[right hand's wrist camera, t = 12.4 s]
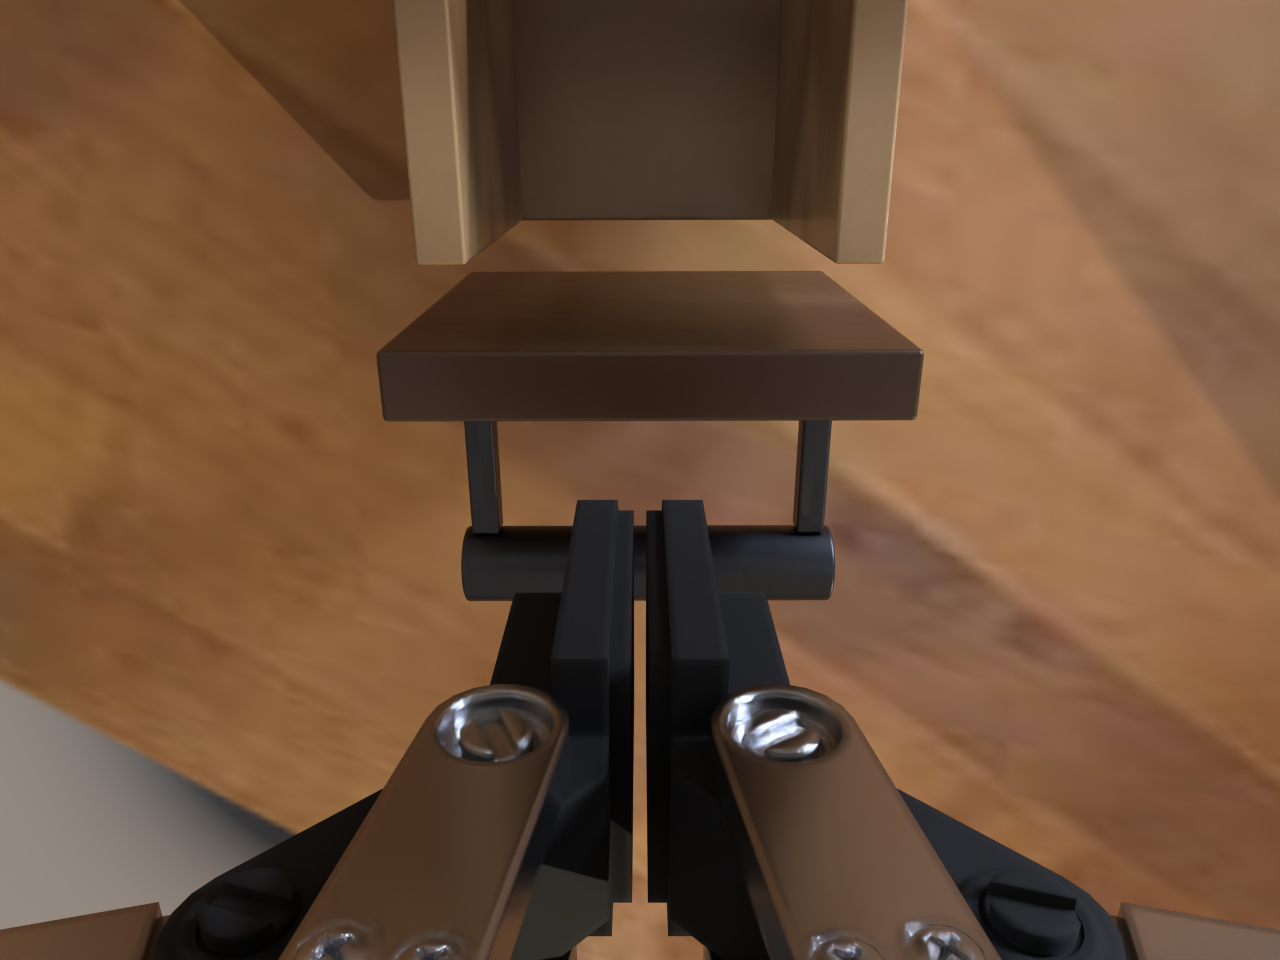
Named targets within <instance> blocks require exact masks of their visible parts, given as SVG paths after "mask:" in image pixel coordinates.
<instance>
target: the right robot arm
mask: <svg viewBox="0 0 1280 960" xmlns="http://www.w3.org/2000/svg"><path fill="white" fill-rule="evenodd" d="M633 758H634V511H618V500H578V501H577V505H576V511H575V517H574V523H573V529H572V535H571V541H570V547H569V553H568V559H567V564H566V570H565V576H564V582H563V588H562V593H515V595H514V598H513V601H512V605H511V609H510V613H509V616H508V620H507V624H506V627H505V631H504V635H503V638H502V642H501V646H500V649H499V653H498V657H497V661H496V664H495V668H494V672H493V675H492V679H491V683H490V685H489V686H483V687H478V688H473V689H470V690H467V691H465V692H462V693H459V694H457V695H454V696H452V697H451V698H449V699H448V700H446V701H445V702H443V703H441V704H440V705H438V706H437V707H436V708H435V709H434V711H433V712H432V713H431V714H430V715H429V716H428V717H427V718H426V720H425V721H424V723H423V725H422V726H421V728H420V730H419V731H418V733H417V735H416V736H415V738H414V739H413V741H412V743H411V744H410V746H409V748H408V749H407V751H406V752H405V754H404V756H403V757H402V759H401V761H400V762H399V764H398V766H397V767H396V769H395V770H394V772H393V774H392V775H391V777H390V779H389V780H388V782H387V783H386V785H385V787H384V788H383V789H381V790H379V791H377V792H376V793H374V794H372V795H370V796H368V797H366V798H364V799H362V800H361V801H359V802H357V803H355V804H353V805H351V806H349V807H347V808H346V809H344V810H342V811H340V812H338V813H336V814H334V815H332V816H331V817H329V818H327V819H325V820H323V821H321V822H319V823H317V824H316V825H314V826H312V827H310V828H308V829H306V830H304V831H302V832H301V833H299V834H297V835H295V836H293V837H291V838H289V839H287V840H286V841H284V842H282V843H280V844H278V845H276V846H274V847H272V848H271V849H269V850H267V851H265V852H263V853H261V854H259V855H257V856H256V857H254V858H252V859H250V860H248V861H246V862H244V863H242V864H241V865H239V866H237V867H235V868H233V869H231V870H229V871H227V872H226V873H224V874H222V875H220V876H218V877H216V878H215V879H213V880H212V881H210V882H209V883H207V884H206V885H204V886H202V887H201V888H199V889H198V890H196V891H195V892H194V893H192V894H191V895H190V896H189V897H188V898H187V899H186V900H185V901H184V902H183V903H182V904H181V905H180V906H179V907H178V908H177V909H176V910H175V911H174V912H173V913H172V914H171V915H168V916H162V914H161V910H160V905H159V902H156V903H151V904H145V905H139V906H133V907H128V908H122V909H117V910H111V911H105V912H99V913H93V914H88V915H82V916H76V917H71V918H65V919H59V920H53V921H48V922H42V923H36V924H31V925H25V926H19V927H13V928H8V929H2V930H0V960H577V944H578V943H580V942H581V941H582V940H583V939H585V938H586V937H587V936H612V915H613V903H632V854H633ZM646 758H647V854H648V903H667V915H668V936H693V937H694V938H695V939H697V940H698V941H699V942H700V943H702V944H703V960H1280V930H1278V929H1272V928H1267V927H1261V926H1255V925H1249V924H1244V923H1238V922H1232V921H1227V920H1221V919H1215V918H1209V917H1204V916H1198V915H1192V914H1187V913H1181V912H1175V911H1169V910H1164V909H1158V908H1152V907H1147V906H1141V905H1135V904H1129V903H1124V902H1121V905H1120V910H1119V914H1118V916H1112V915H1109V914H1108V913H1107V912H1106V911H1105V910H1104V909H1103V908H1102V907H1101V906H1100V905H1099V904H1098V903H1097V902H1096V901H1095V900H1094V899H1093V898H1092V897H1091V896H1090V895H1089V894H1088V893H1087V892H1085V891H1084V890H1082V889H1081V888H1079V887H1078V886H1076V885H1074V884H1073V883H1071V882H1070V881H1068V880H1067V879H1065V878H1064V877H1062V876H1060V875H1058V874H1056V873H1054V872H1053V871H1051V870H1049V869H1047V868H1045V867H1043V866H1041V865H1039V864H1038V863H1036V862H1034V861H1032V860H1030V859H1028V858H1026V857H1024V856H1023V855H1021V854H1019V853H1017V852H1015V851H1013V850H1011V849H1009V848H1008V847H1006V846H1004V845H1002V844H1000V843H998V842H996V841H994V840H993V839H991V838H989V837H987V836H985V835H983V834H981V833H979V832H978V831H976V830H974V829H972V828H970V827H968V826H966V825H964V824H963V823H961V822H959V821H957V820H955V819H953V818H951V817H949V816H948V815H946V814H944V813H942V812H940V811H938V810H936V809H934V808H933V807H931V806H929V805H927V804H925V803H923V802H921V801H919V800H918V799H916V798H914V797H912V796H910V795H908V794H906V793H904V792H903V791H901V790H899V789H897V788H896V787H895V785H894V783H893V782H892V780H891V779H890V777H889V775H888V774H887V772H886V770H885V769H884V767H883V766H882V764H881V762H880V761H879V759H878V757H877V756H876V754H875V752H874V751H873V749H872V748H871V746H870V744H869V743H868V741H867V739H866V738H865V736H864V735H863V733H862V731H861V730H860V728H859V726H858V725H857V723H856V721H855V720H854V718H853V717H852V716H851V715H850V714H849V713H848V712H847V711H846V709H845V708H844V707H843V706H842V705H840V704H839V703H837V702H835V701H834V700H832V699H831V698H829V697H828V696H826V695H823V694H821V693H818V692H815V691H813V690H810V689H807V688H802V687H797V686H791V685H790V683H789V679H788V675H787V672H786V668H785V664H784V661H783V657H782V653H781V649H780V646H779V642H778V638H777V635H776V631H775V627H774V624H773V620H772V616H771V613H770V609H769V605H768V601H767V598H766V595H765V593H718V588H717V582H716V576H715V570H714V564H713V559H712V553H711V547H710V541H709V535H708V529H707V523H706V517H705V511H704V505H703V501H702V500H662V511H646Z"/></svg>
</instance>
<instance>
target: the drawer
mask: <svg viewBox="0 0 1280 960" xmlns="http://www.w3.org/2000/svg"><path fill="white" fill-rule="evenodd" d="M392 1H393V12H394V23H395V34H396V45H397V57H398V68H399V79H400V90H401V101H402V113H403V124H404V135H405V146H406V157H407V169H408V180H409V191H410V202H411V213H412V225H413V236H414V247H415V258H416V263H417V264H419V265H463V264H466V263H467V262H468V261H469V260H471V259H472V258H473V257H475V256H476V255H477V254H479V253H480V252H481V251H482V250H484V249H485V248H486V247H488V246H489V245H490V244H492V243H493V242H494V241H495V240H497V239H498V238H499V237H501V236H502V235H503V234H505V233H506V232H507V231H508V230H510V229H511V228H512V227H514V226H515V225H516V224H517V223H519V222H520V221H521V220H774V221H775V222H776V223H778V224H779V225H781V226H782V227H784V228H785V229H787V230H788V231H790V232H791V233H793V234H794V235H795V236H797V237H798V238H800V239H801V240H803V241H804V242H806V243H807V244H809V245H810V246H811V247H813V248H814V249H816V250H817V251H819V252H820V253H822V254H823V255H825V256H826V257H828V258H829V259H830V260H832V261H833V262H835V263H837V264H880V263H882V262H883V261H884V258H885V247H886V236H887V225H888V214H889V203H890V192H891V181H892V170H893V160H894V149H895V138H896V127H897V116H898V105H899V94H900V83H901V72H902V62H903V51H904V40H905V29H906V18H907V7H908V0H392ZM376 357H377V367H378V376H379V385H380V394H381V403H382V413H383V418H384V420H386V421H464V426H465V440H466V453H467V466H468V479H469V493H470V506H471V519H472V526H470V527H468V528H467V530H466V533H465V536H464V540H463V547H462V560H461V572H462V585H463V591H464V594H465V597H466V599H467V600H469V601H513V598H514V595H515V593H562V588H563V582H564V576H565V570H566V564H567V559H568V553H569V547H570V541H571V535H572V529H573V526H502V524H503V515H502V499H501V483H500V466H499V450H498V434H497V421H769V420H799V432H798V448H797V464H796V480H795V496H794V512H793V523H794V525H709V526H707V529H708V535H709V541H710V547H711V553H712V559H713V564H714V570H715V576H716V582H717V588H718V593H765V595H766V598H767V600H828V599H829V598H830V597H831V594H832V591H833V586H834V578H835V554H834V545H833V539H832V535H831V532H830V529H829V528H828V526H825V525H824V516H825V503H826V490H827V477H828V463H829V450H830V437H831V424H832V420H913V419H916V416H917V412H918V403H919V394H920V385H921V376H922V367H923V358H924V353H923V350H921V349H920V348H919V347H917V346H916V345H915V344H914V343H912V342H911V341H910V340H908V339H907V338H906V337H905V336H903V335H902V334H901V333H900V332H898V331H897V330H896V329H894V328H893V327H892V326H891V325H889V324H888V323H887V322H886V321H884V320H883V319H882V318H880V317H879V316H878V315H877V314H875V313H874V312H873V311H872V310H870V309H869V308H868V307H866V306H865V305H864V304H863V303H861V302H860V301H859V300H857V299H856V298H855V297H854V296H852V295H851V294H850V293H849V292H847V291H846V290H845V289H843V288H842V287H841V286H840V285H838V284H837V283H836V282H835V281H833V280H832V279H831V278H829V277H828V276H827V275H826V274H824V273H823V272H821V271H660V272H472V273H470V274H469V275H468V276H466V277H465V278H464V279H463V280H462V281H461V282H459V283H458V284H457V285H456V286H455V287H453V288H452V289H451V290H450V291H449V292H448V293H446V294H445V295H444V296H443V297H442V298H441V299H439V300H438V301H437V302H436V303H435V304H433V305H432V306H431V307H430V308H429V309H428V310H426V311H425V312H424V313H423V314H422V315H421V316H419V317H418V318H417V319H416V320H415V321H413V322H412V323H411V324H410V325H409V326H408V327H406V328H405V329H404V330H403V331H402V332H401V333H399V334H398V335H397V336H396V337H395V338H393V339H392V340H391V341H390V342H389V343H388V344H386V345H385V346H384V347H383V348H382V349H381V350H379V351H378V352H377V355H376ZM634 601H646V526H634Z"/></svg>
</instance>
